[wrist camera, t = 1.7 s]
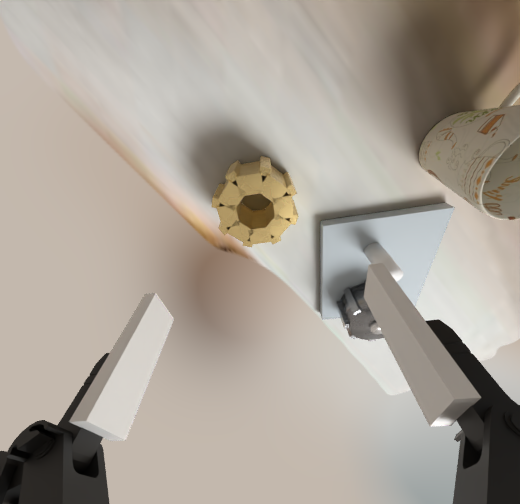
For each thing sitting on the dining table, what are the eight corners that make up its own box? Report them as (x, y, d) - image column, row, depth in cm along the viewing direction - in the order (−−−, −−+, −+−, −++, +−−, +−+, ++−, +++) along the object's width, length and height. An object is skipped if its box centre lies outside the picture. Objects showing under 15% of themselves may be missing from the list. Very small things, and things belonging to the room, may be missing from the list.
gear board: (320, 220, 29) (334, 250, 23) (445, 202, 27) (494, 229, 21) (320, 313, 40) (330, 347, 35) (408, 304, 39) (433, 339, 33)
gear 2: (337, 282, 34) (349, 312, 29) (399, 275, 33) (422, 305, 28) (334, 319, 39) (344, 349, 34) (387, 313, 38) (405, 344, 33)
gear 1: (211, 164, 25) (201, 177, 20) (289, 150, 24) (294, 160, 20) (230, 231, 30) (225, 251, 26) (294, 221, 29) (300, 241, 25)
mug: (390, 166, 25) (454, 199, 16) (497, 21, 18) (695, -44, 10) (443, 192, 26) (524, 233, 18) (558, 70, 20) (768, 49, 11)
